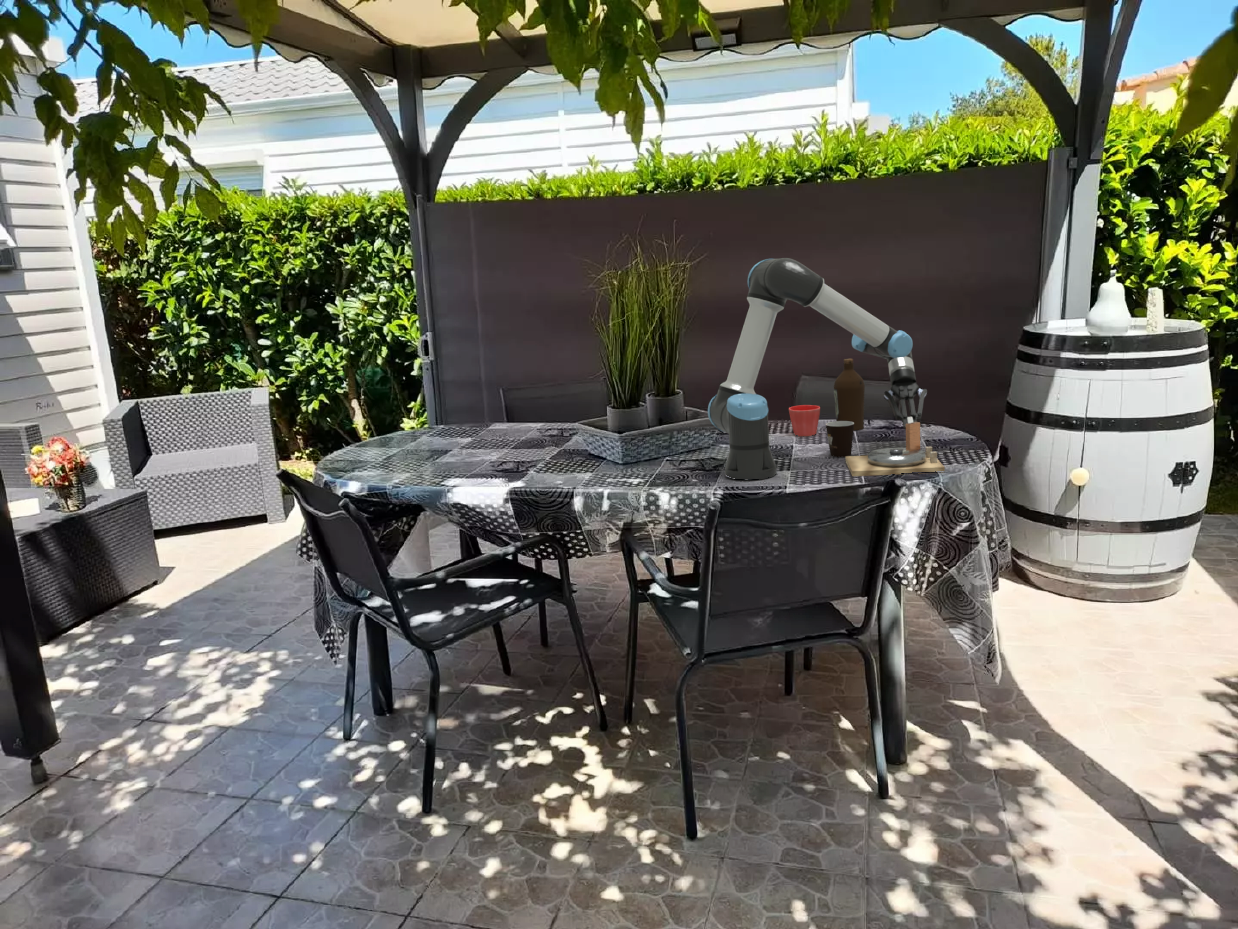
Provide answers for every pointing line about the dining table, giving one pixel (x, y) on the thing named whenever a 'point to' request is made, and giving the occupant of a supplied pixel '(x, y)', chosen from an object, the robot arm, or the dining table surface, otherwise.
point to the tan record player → (864, 468)
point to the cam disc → (901, 451)
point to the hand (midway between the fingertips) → (912, 437)
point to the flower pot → (804, 419)
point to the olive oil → (849, 396)
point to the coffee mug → (840, 438)
